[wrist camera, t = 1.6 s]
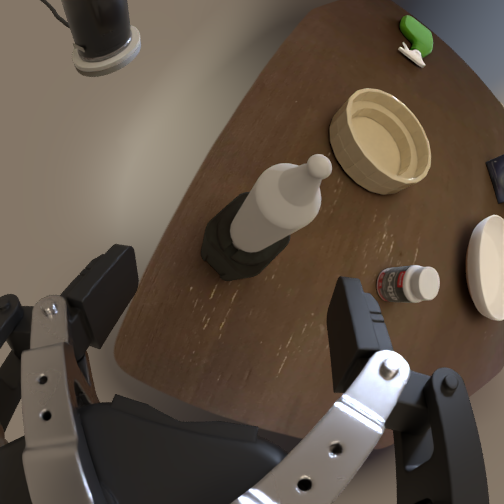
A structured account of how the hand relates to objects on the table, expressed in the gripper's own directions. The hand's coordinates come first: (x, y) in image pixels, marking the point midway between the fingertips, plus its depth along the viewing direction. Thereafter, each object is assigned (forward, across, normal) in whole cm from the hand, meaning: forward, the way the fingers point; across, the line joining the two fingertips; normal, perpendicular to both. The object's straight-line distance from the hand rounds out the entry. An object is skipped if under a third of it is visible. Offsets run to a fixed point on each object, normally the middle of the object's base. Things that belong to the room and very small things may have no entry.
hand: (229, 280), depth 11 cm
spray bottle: (+65, -33, -32) cm, 80 cm away
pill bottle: (+23, -19, +14) cm, 33 cm away
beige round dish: (+35, -15, -2) cm, 38 cm away
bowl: (+31, -44, +14) cm, 55 cm away
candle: (+19, +3, +11) cm, 22 cm away
